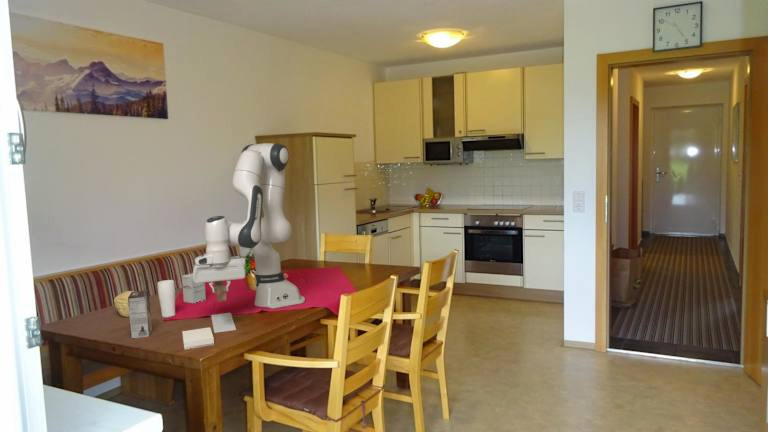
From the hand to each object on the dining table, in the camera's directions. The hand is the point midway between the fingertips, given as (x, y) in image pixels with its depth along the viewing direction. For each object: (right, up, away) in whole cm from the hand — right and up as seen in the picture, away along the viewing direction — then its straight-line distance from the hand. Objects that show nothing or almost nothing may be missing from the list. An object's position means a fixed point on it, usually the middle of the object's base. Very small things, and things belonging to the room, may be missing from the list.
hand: (220, 291), depth 223 cm
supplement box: (-23, -10, +40) cm, 47 cm away
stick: (0, -2, 0) cm, 2 cm away
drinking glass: (-26, -13, +16) cm, 33 cm away
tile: (-5, -14, -13) cm, 19 cm away
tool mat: (+1, -13, +2) cm, 13 cm away
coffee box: (-28, -15, -8) cm, 33 cm away
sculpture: (-44, -13, +20) cm, 50 cm away
